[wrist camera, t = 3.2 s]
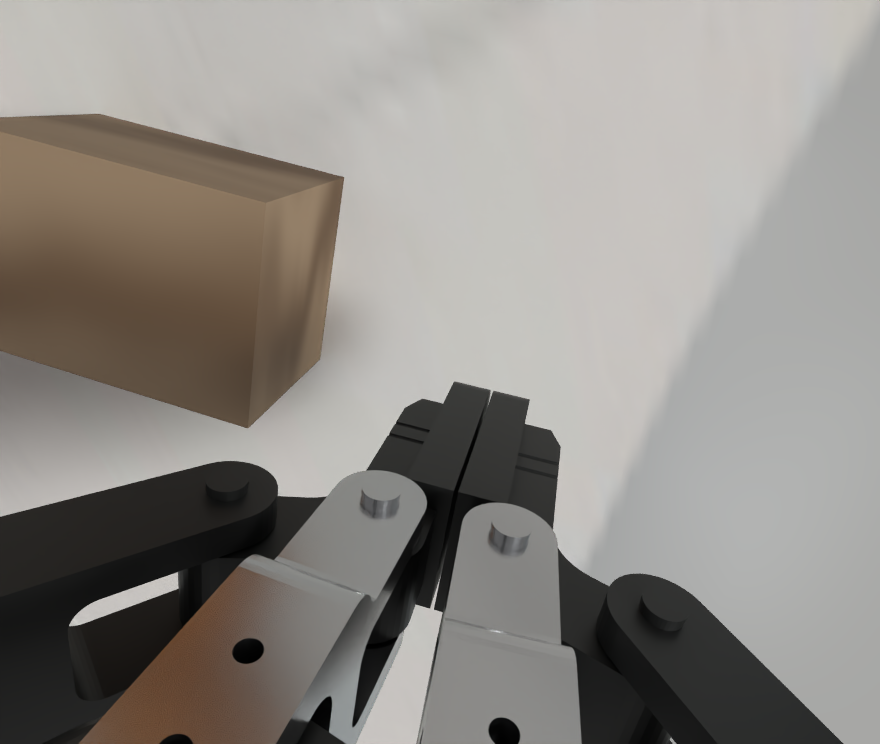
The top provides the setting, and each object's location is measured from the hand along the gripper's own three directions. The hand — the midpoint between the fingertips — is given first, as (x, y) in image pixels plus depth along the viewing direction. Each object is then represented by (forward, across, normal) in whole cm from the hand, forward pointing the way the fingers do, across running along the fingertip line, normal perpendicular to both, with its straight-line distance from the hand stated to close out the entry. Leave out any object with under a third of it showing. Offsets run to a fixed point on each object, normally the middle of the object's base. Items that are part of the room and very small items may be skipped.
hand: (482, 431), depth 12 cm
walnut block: (+7, +10, 0) cm, 12 cm away
